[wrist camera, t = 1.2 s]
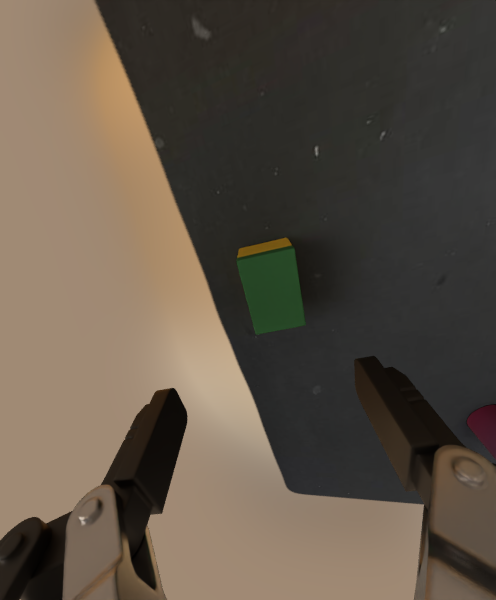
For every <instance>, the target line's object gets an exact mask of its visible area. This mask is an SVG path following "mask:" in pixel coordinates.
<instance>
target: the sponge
mask: <svg viewBox="0 0 496 600" xmlns="http://www.w3.org/2000/svg"><path fill="white" fill-rule="evenodd" d="M236 262H237V266H238V270H239V274H240V277H241V281H242V285H243V288H244V292H245V296H246V300H247V303H248V307H249V311H250V315H251V318H252V322H253V326H254V329H255V333H256V334H262V333H267V332H273V331H278V330H283V329H288V328H294V327H299V326H304V325H306V322H305V316H304V309H303V302H302V295H301V289H300V282H299V275H298V268H297V262H296V255H295V248H294V247H293V246H292V244H291V243H290V241H289V240H288V239H287V238H283V239H278V240H274V241H270V242H266V243H261V244H257V245H253V246H249V247H244V248H240V249H239V252H238V257H237V261H236Z"/></svg>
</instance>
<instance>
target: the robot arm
mask: <svg viewBox="0 0 496 600" xmlns="http://www.w3.org/2000/svg"><path fill="white" fill-rule="evenodd" d="M354 366H355V387H356V392H357V395H358V398H359V400H360V402H361V404H362V406H363V408H364V410H365V412H366V414H367V416H368V418H369V420H370V422H371V424H372V426H373V428H374V430H375V432H376V434H377V436H378V437H379V439H380V441H381V443H382V445H383V447H384V449H385V451H386V453H387V455H388V457H389V459H390V461H391V463H392V465H393V467H394V469H395V471H396V473H397V475H398V477H399V479H400V481H401V483H402V485H403V487H404V489H405V491H416V490H417V491H418V493H419V495H420V497H421V499H422V500H423V502H424V511H423V521H422V531H421V542H420V552H419V562H418V572H417V582H416V589H415V595H414V600H496V464H493V463H491V462H490V461H489V460H487V459H486V458H485V457H483V456H482V455H480V454H479V453H477V452H475V451H473V450H471V449H468V448H466V447H465V446H464V445H463V444H462V443H461V442H460V441H459V440H458V439H457V437H456V436H455V435H454V434H453V432H452V431H451V430H450V429H449V428H448V426H447V425H446V424H445V423H444V421H443V420H442V419H441V418H440V417H439V415H438V414H437V413H436V412H435V411H434V409H433V408H432V407H431V406H430V404H429V403H428V402H427V401H426V400H424V398H423V396H422V395H421V393H420V392H419V391H418V390H416V388H415V386H414V385H413V384H412V383H411V381H410V380H409V379H408V378H407V376H406V375H404V374H403V373H401V372H400V371H398V370H396V369H395V368H393V367H388V368H384V367H383V366H382V364H381V363H380V362H379V360H378V359H377V358H376V357H375V356H371V357H365V358H358V359H355V361H354ZM186 425H187V411H186V409H185V407H184V405H183V403H182V401H181V399H180V397H179V395H178V393H177V391H176V390H175V389H174V388H170V389H164V390H158V391H156V392H155V393H154V395H153V397H152V400H151V402H150V404H147V405H145V406H144V408H143V409H142V410H141V411H140V412H139V413H138V414H137V416H136V418H135V420H134V421H133V423H132V426H131V427H130V428H131V429H130V430H129V431H128V433H127V435H126V437H125V440H124V441H123V443H122V445H121V447H120V449H119V451H118V453H117V455H116V457H115V459H114V461H113V463H112V465H111V467H110V469H109V471H108V473H107V475H106V477H105V478H104V480H103V482H102V484H101V485H100V486H98V487H96V488H94V489H93V490H91V491H90V492H88V493H87V494H86V495H85V496H84V497H83V498H82V499H81V500H80V501H79V503H78V504H77V505H76V506H75V508H74V510H73V511H71V512H69V513H67V514H65V515H63V516H61V517H59V518H57V519H55V520H53V521H51V522H49V523H44V522H43V521H41V520H40V519H39V518H37V517H32V518H28V519H26V520H24V521H22V522H21V523H19V524H18V525H17V526H15V527H14V528H13V529H11V530H10V531H9V532H8V533H7V534H6V535H5V536H4V537H3V538H2V540H0V600H19V599H21V600H167V599H166V597H165V594H164V591H163V588H162V584H161V580H160V575H159V571H158V566H157V562H156V558H155V553H154V549H153V545H152V540H151V536H150V532H149V528H148V526H147V524H148V520H149V517H150V515H151V514H161V513H162V512H163V508H164V504H165V501H166V497H167V493H168V490H169V486H170V483H171V479H172V475H173V472H174V468H175V465H176V461H177V457H178V454H179V450H180V447H181V443H182V439H183V436H184V432H185V429H186Z"/></svg>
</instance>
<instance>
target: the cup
mask: <svg viewBox="0 0 496 600" xmlns="http://www.w3.org/2000/svg"><path fill="white" fill-rule="evenodd" d="M467 425H468V426H469V427H470V429H471V430H472V431H473V432H474V434H475V435H476V436H477V437H478V438H479V440H480V441H481V442H482V443H483V445H484V446H485V447H486V448H487V449H488V451H489V452H490V453H491V454H492V456H493V457H494V458H495V459H496V405H489V406H485V407H482V408H480V409H478V410H476V411H474V412H473V413H472V414H471V415H470V416H469V417H468V419H467Z"/></svg>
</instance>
